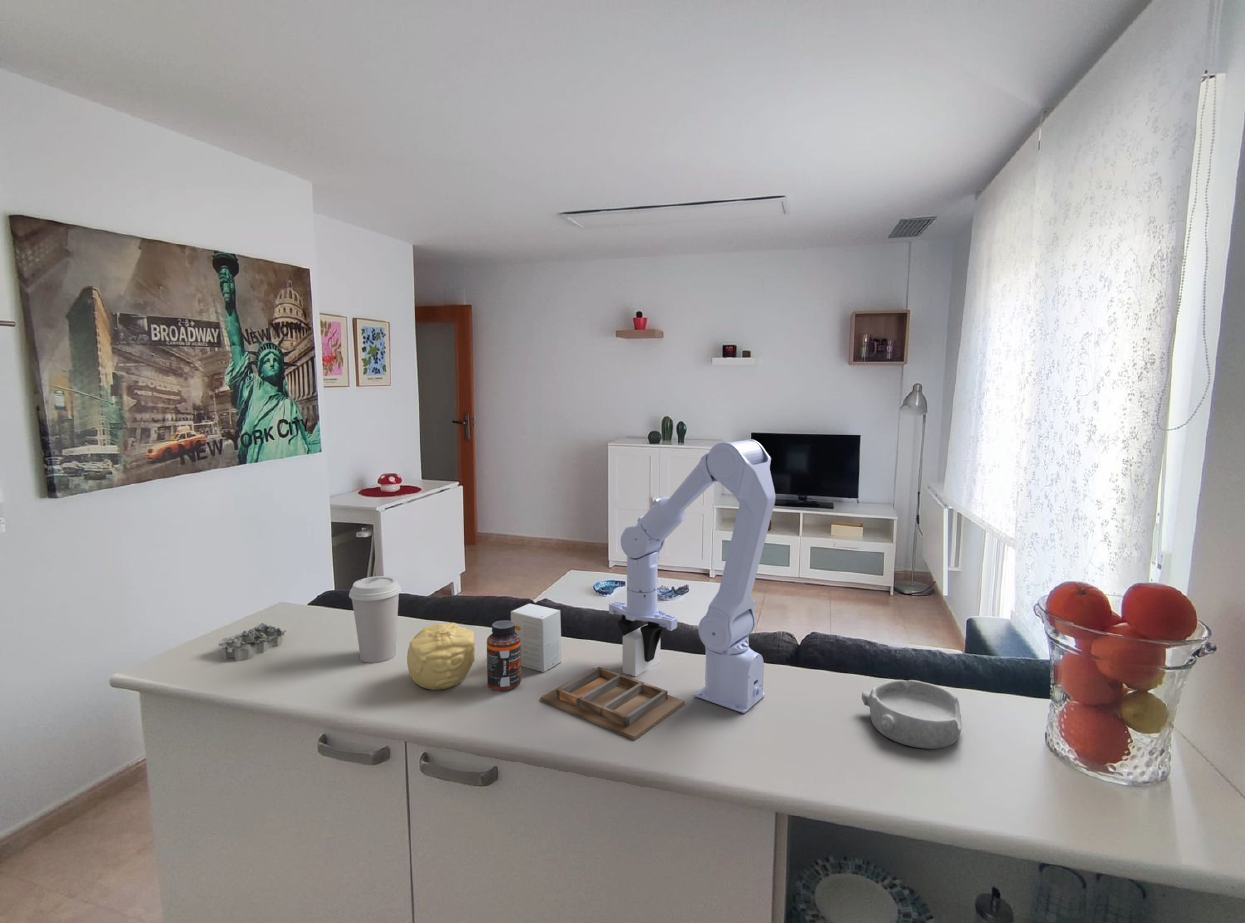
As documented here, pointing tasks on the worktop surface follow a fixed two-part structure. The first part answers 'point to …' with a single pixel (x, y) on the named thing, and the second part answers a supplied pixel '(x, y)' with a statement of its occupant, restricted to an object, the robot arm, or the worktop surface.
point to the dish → (915, 713)
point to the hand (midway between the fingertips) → (641, 657)
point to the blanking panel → (637, 654)
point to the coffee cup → (376, 617)
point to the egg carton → (251, 642)
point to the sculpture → (441, 656)
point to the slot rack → (614, 701)
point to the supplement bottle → (503, 657)
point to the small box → (538, 636)
